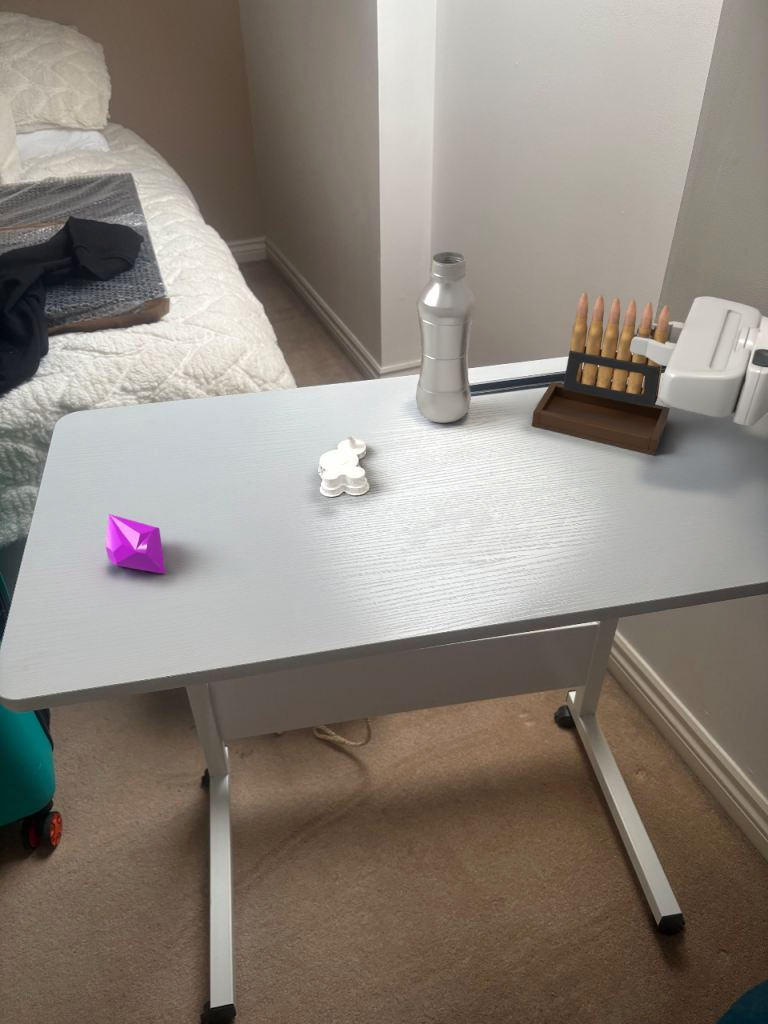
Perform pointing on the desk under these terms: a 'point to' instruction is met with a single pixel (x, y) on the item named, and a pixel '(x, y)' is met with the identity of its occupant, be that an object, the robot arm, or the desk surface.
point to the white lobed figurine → (343, 469)
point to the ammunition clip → (614, 355)
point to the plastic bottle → (445, 340)
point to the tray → (601, 419)
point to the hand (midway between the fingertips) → (634, 336)
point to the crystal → (134, 545)
